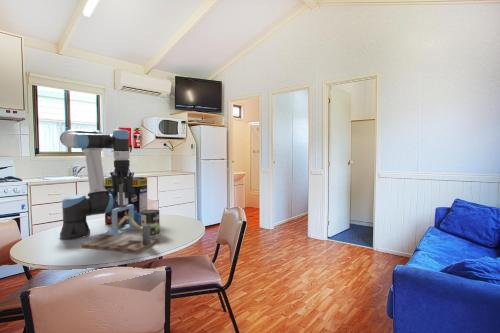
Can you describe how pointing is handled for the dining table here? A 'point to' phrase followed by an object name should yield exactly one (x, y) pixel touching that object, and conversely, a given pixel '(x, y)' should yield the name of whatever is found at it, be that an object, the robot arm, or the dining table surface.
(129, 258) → the dining table surface
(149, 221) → the coffee can
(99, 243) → the board
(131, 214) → the grey frame
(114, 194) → the cereal box
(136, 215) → the blue rounded piece
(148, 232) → the buzz wire
